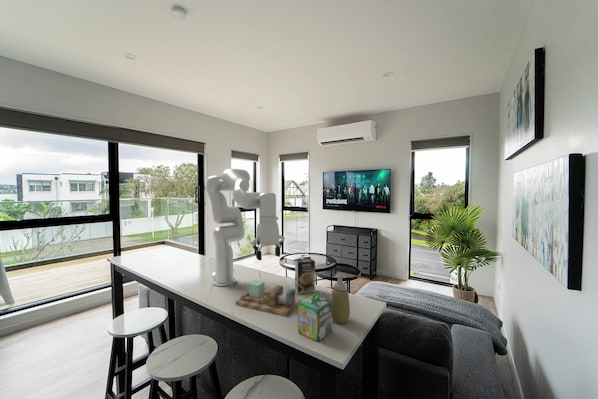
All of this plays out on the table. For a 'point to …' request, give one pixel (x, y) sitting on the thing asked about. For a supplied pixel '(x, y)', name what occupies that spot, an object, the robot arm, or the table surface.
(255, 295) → the spacer block
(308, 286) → the coffee box
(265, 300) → the jig
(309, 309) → the chalk box
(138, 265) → the table surface
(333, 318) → the squeeze bottle
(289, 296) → the grey rectangular box
